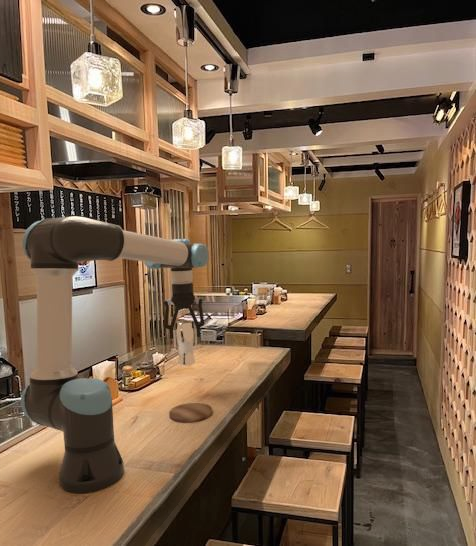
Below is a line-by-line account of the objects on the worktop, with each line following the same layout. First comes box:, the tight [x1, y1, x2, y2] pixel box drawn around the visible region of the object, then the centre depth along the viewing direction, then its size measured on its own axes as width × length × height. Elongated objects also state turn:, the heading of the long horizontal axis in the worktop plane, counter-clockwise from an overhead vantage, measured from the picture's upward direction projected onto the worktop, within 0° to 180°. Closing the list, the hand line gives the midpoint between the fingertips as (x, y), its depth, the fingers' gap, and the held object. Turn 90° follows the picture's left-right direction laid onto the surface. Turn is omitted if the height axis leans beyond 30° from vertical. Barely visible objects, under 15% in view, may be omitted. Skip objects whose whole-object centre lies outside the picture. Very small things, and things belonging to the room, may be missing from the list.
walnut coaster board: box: [168, 402, 213, 424], centre depth 147 cm, size 14×14×1 cm
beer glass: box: [174, 319, 196, 366], centre depth 160 cm, size 7×7×15 cm
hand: (185, 346), depth 160 cm, fingers closed on beer glass, 7 cm apart
